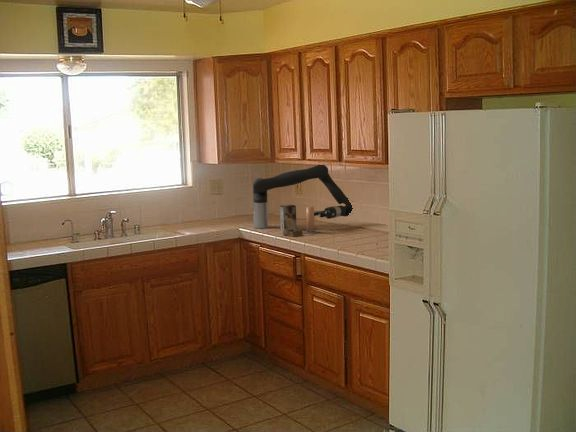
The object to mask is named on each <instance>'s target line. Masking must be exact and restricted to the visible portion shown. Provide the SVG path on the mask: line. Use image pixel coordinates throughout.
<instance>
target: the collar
mask: <svg viewBox="0 0 576 432" xmlns="http://www.w3.org/2000/svg"><path fill="white" fill-rule="evenodd" d="M282 231H283V230H282ZM302 232H303V229H297V230H296V229H291V230H285V231H283V236H284V237H290V238H295V237H300V236H303V233H302Z"/></svg>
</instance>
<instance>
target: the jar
mask: <svg viewBox="0 0 576 432" xmlns="http://www.w3.org/2000/svg"><path fill="white" fill-rule="evenodd" d="M314 212H315V207H314V206H306V207H305V215H306V216H305V217H306V231H307V233H313V232H315V231H316V230H315V228H316V226H315V216H314Z"/></svg>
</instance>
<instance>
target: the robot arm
mask: <svg viewBox="0 0 576 432" xmlns="http://www.w3.org/2000/svg"><path fill="white" fill-rule="evenodd" d="M315 179H318V180H319V181H321V182H322V183H323V185H324V186H325V188H326V189H327V190H328V192H329V193H330V194H331V196H332V197H333V199H335V201H336V202H337V203H338V205H336V206H327V207H326V208H324V209H323V210H316V211H315V210H314V217H320V218H322V219H323V218H326V219H336V218H338V217H349V216H350V215H349V213H351V211H352V209H353V208H352V205H351V203H350V202H349V200H348V199H349V198H348V197H347V196H346V194H345V193H344V192H343V190H342V189H341V188H340V187H339V185H338V184H336V182H335V181H334V180H333V178H332V177H331V175H330V172H329V168H328V166H327V165H326V164H323V165H320V164H317V165H315V166H311V167H308V168H305V169H304V168H303V169H295V170H292V171H287V172H282V173H280V174H278V175H274V176H273V177H268V178H262V177H259V178H255V179H254V181H253V183H252V194H253V196H252V197H253V214H252V217H253V219H252V220H253V221H252V222H253V228H255V229H268V228H269V212H268V209H269V208H268V191H269V190H272V189H276V188H283V187H284V188H285V187H290V186H294V185H297V184H301V183H304V182H306V181H308V180H315ZM341 204H343V205H341ZM348 215H349V216H348Z"/></svg>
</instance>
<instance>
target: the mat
mask: <svg viewBox="0 0 576 432" xmlns="http://www.w3.org/2000/svg"><path fill="white" fill-rule="evenodd" d="M302 233H303V234H304V235H315V234H320V233H321V231H319V230H318V231H316V230H315V232H313V233H307V230H306V231H302Z"/></svg>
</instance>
